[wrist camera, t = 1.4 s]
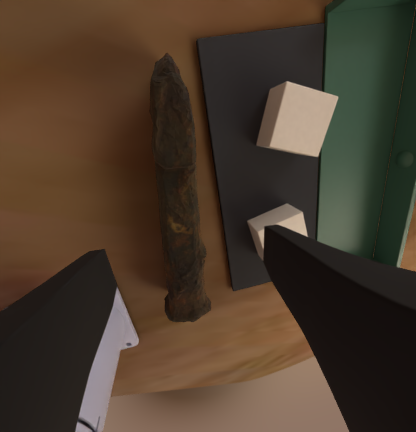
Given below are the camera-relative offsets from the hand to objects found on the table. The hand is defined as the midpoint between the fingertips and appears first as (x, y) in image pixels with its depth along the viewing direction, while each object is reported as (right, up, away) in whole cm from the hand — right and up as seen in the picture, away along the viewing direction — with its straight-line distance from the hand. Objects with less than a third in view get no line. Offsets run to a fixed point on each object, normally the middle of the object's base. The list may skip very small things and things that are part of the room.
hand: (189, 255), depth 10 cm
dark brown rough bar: (-2, +3, +8) cm, 9 cm away
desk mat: (+6, +5, +9) cm, 12 cm away
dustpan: (+19, +8, +10) cm, 22 cm away
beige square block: (+7, +1, +10) cm, 12 cm away
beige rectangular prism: (+7, +9, +7) cm, 13 cm away
